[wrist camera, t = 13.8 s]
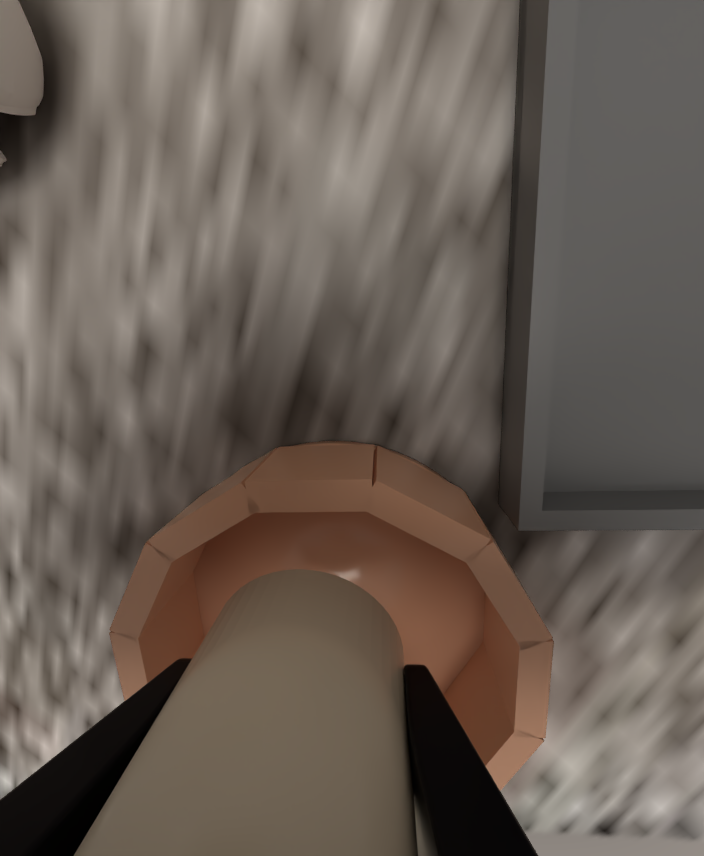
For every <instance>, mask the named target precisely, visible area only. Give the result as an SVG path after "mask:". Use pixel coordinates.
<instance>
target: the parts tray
mask: <svg viewBox="0 0 704 856" xmlns="http://www.w3.org/2000/svg"><path fill="white" fill-rule="evenodd" d="M498 504H499V505H500V507H501V508H502V509H503V511H504V512H505V513H506V515H507V516H508V517H509V519H510V520H511V521H512V523H513V524H514V525H515V527H516V528H517V530H518V531H564V530H704V0H520V21H519V44H518V66H517V89H516V112H515V135H514V158H513V180H512V203H511V226H510V249H509V271H508V294H507V317H506V340H505V363H504V385H503V408H502V431H501V454H500V476H499V499H498Z"/></svg>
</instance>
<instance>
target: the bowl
mask: <svg viewBox="0 0 704 856" xmlns="http://www.w3.org/2000/svg"><path fill="white" fill-rule="evenodd" d="M293 569H304V570H315V571H321V572H326V573H329V574H332V575H336V576H339V577H341V578H343V579H346V580H348V581H350V582H352V583H354V584H356V585H357V586H359V587H361V588H362V589H364V590H365V591H366V592H368V593H369V594H370V595H372V596H373V597H374V598H375V599H376V600H377V601H378V602H379V603H380V604H381V605H382V606H383V607H384V608H385V610H386V611H387V612H388V613H389V615H390V616H391V618H392V620H393V621H394V623H395V625H396V627H397V630H398V632H399V634H400V637H401V641H402V645H403V653H404V666H405V665H406V664H421V665H425V666H426V667H427V668H428V670H429V671H430V673H431V675H432V676H433V678H434V680H435V681H436V683H437V685H438V686H439V688H440V690H441V692H442V693H443V695H444V697H445V698H446V700H447V702H448V703H449V705H450V707H451V709H452V710H453V712H454V714H455V715H456V717H457V719H458V720H459V722H460V724H461V725H462V727H463V729H464V731H465V732H466V734H467V736H468V737H469V739H470V741H471V742H472V744H473V746H474V748H475V749H476V751H477V753H478V754H479V756H480V758H481V759H482V761H483V763H484V765H485V766H486V768H487V770H488V771H489V773H490V775H491V776H492V778H493V780H494V782H495V783H496V785H497V787H498V788H499V790H501V789H502V788H503V787H504V786H505V785H506V784H507V782H508V781H509V780H510V779H511V778H512V777H513V776H514V775H515V773H516V772H517V771H518V770H519V769H520V768H521V767H522V765H523V764H524V763H525V762H526V761H527V760H528V759H529V757H530V756H531V755H532V754H533V753H534V752H535V751H536V750H537V748H538V747H539V746H540V745H541V744H542V743H543V742H544V740H543V738H545V736H546V725H547V713H548V702H549V690H550V679H551V668H552V656H553V645H554V641H553V639H552V638H553V637H552V636H551V634H550V632H549V631H548V629H547V627H546V625H545V624H544V622H543V620H542V619H541V617H540V615H539V614H538V612H537V610H536V608H535V607H534V605H533V603H532V602H531V600H530V598H529V597H528V595H527V593H526V591H525V590H524V588H523V586H522V585H521V583H520V581H519V579H518V578H517V576H516V574H515V573H514V571H513V569H512V568H511V566H510V564H509V563H508V561H507V559H506V558H505V556H504V554H503V553H502V551H501V550H500V548H499V546H498V545H497V543H496V541H495V540H494V538H493V537H492V535H491V533H490V532H489V530H488V528H487V527H486V525H485V523H484V521H483V520H482V518H481V517H480V515H479V514H478V512H477V510H476V509H475V507H474V506H473V504H472V502H471V501H470V499H469V497H468V496H467V494H466V493H465V492H464V491H463V489H461V488H459V487H457V486H455V485H453V484H451V483H450V482H448V481H447V480H446V479H445V478H443V477H442V476H441V475H440V474H438V473H437V472H435V471H433V470H432V469H430V468H429V467H427V466H425V465H424V464H422V463H420V462H419V461H417V460H414V459H412V458H410V457H407V456H405V455H403V454H401V453H398V452H396V451H392V450H389V449H386V448H382V447H380V446H378V445H377V446H376V445H374V444H364V443H358V442H352V441H319V442H308V443H303V444H298V445H294V446H288V447H278V448H275V449H273V450H272V451H270V452H268V453H267V454H265V455H263V456H262V457H260V458H258V459H256V460H254V461H252V462H250V463H249V464H247V465H245V466H244V467H242V468H241V469H240V470H238V471H237V472H235V473H234V474H233V475H231V476H230V477H229V478H227V479H225V480H224V481H222V482H221V483H219V484H217V485H216V486H214V487H213V488H211V489H210V490H208V491H206V492H205V493H203V494H202V495H201V496H200V497H199V498H197V499H196V500H195V501H194V502H193V503H191V504H190V505H189V506H188V507H187V508H185V509H184V510H183V511H182V512H181V513H179V514H178V515H177V516H176V517H175V518H174V519H172V520H171V521H170V522H169V523H168V524H166V525H165V526H164V527H163V528H162V529H160V530H159V531H158V532H157V533H156V534H155V535H153V536H152V537H151V538H150V539H149V540H148V541H147V542H146V543H145V545H144V547H143V550H142V552H141V554H140V557H139V559H138V562H137V564H136V567H135V569H134V571H133V574H132V576H131V579H130V581H129V583H128V586H127V588H126V591H125V593H124V596H123V598H122V600H121V603H120V605H119V608H118V610H117V613H116V615H115V617H114V620H113V622H112V625H111V627H110V629H109V630H111V632H110V633H109V635H110V639H111V643H112V648H113V652H114V656H115V661H116V665H117V670H118V674H119V678H120V683H121V687H122V691H123V696H124V700H125V701H126V700H127V699H128V698H129V697H131V696H132V695H133V694H134V693H136V692H137V691H138V690H139V689H141V688H142V687H143V686H144V685H146V684H147V683H148V682H149V681H151V680H152V679H153V678H155V677H156V676H157V675H158V674H160V673H161V672H162V671H163V670H165V669H166V668H167V667H168V666H170V665H171V664H172V663H173V662H175V661H176V660H178V659H181V658H193V657H194V655H195V653H196V652H197V650H198V648H199V647H200V645H201V643H202V642H203V640H204V638H205V637H206V635H207V633H208V632H209V630H210V628H211V627H212V625H213V623H214V622H215V620H216V618H217V617H218V615H219V613H220V612H221V610H222V608H223V607H224V605H225V603H226V602H227V601H228V600H229V599H230V597H231V596H232V595H233V594H234V593H235V592H236V591H238V590H239V589H240V588H241V587H242V586H244V585H245V584H247V583H249V582H250V581H252V580H254V579H256V578H258V577H260V576H263V575H266V574H269V573H273V572H277V571H283V570H293Z"/></svg>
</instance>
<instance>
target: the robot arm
mask: <svg viewBox="0 0 704 856" xmlns="http://www.w3.org/2000/svg"><path fill="white" fill-rule="evenodd" d="M191 660H192V658H181V659H178V660H176V661H175V662H173V663H172V664H171V665H170V666H168V667H167V668H166V669H165V670H163V671H162V672H161V673H160V674H158V675H157V676H156V677H155V678H153V679H152V680H151V681H149V682H148V683H147V684H146V685H144V686H143V687H142V688H141V689H139V690H138V691H137V692H136V693H134V694H133V695H132V696H131V697H129V698H128V699H127V700H126V701H124V702H123V703H122V704H120V705H119V706H118V707H117V708H115V709H114V710H113V711H112V712H110V713H109V714H108V715H107V716H105V717H104V718H103V719H102V720H100V721H99V722H98V723H97V724H95V725H94V726H93V727H91V728H90V729H89V730H88V731H86V732H85V733H84V734H83V735H81V736H80V737H79V738H78V739H76V740H75V741H74V742H73V743H71V744H70V745H69V746H68V747H66V748H65V749H64V750H62V751H61V752H60V753H59V754H57V755H56V756H55V757H54V758H52V759H51V760H50V761H49V762H47V763H46V764H45V765H44V766H42V767H41V768H40V769H39V770H37V771H36V772H35V773H34V774H32V775H31V776H30V777H28V778H27V779H26V780H25V781H23V782H22V783H21V784H20V785H18V786H17V787H16V788H15V789H13V790H12V791H11V792H10V793H8V794H7V795H6V796H5V797H3V798H2V799H1V800H0V856H74V854H75V853H76V851H77V849H78V848H79V846H80V844H81V843H82V841H83V839H84V838H85V836H86V834H87V833H88V831H89V829H90V828H91V826H92V824H93V823H94V821H95V819H96V818H97V816H98V814H99V813H100V811H101V809H102V808H103V806H104V804H105V803H106V801H107V799H108V798H109V796H110V794H111V793H112V791H113V790H114V788H115V786H116V785H117V783H118V781H119V780H120V778H121V776H122V775H123V773H124V771H125V770H126V768H127V766H128V765H129V763H130V761H131V760H132V758H133V756H134V755H135V753H136V751H137V750H138V748H139V746H140V745H141V743H142V741H143V740H144V738H145V736H146V735H147V733H148V731H149V730H150V728H151V726H152V725H153V723H154V721H155V720H156V718H157V716H158V715H159V713H160V711H161V710H162V708H163V706H164V705H165V703H166V701H167V700H168V698H169V696H170V695H171V693H172V692H173V690H174V688H175V687H176V685H177V683H178V682H179V680H180V678H181V677H182V675H183V673H184V672H185V670H186V668H187V667H188V665H189V663H190V662H191ZM404 678H405V692H406V707H407V721H408V736H409V747H410V756H411V767H412V778H413V791H414V805H415V819H416V833H417V846H418V856H538V855H537V853H536V851H535V850H534V848H533V846H532V844H531V843H530V841H529V839H528V838H527V836H526V834H525V832H524V831H523V829H522V827H521V826H520V824H519V822H518V821H517V819H516V817H515V815H514V814H513V812H512V810H511V809H510V807H509V805H508V804H507V802H506V800H505V798H504V797H503V795H502V793H501V792H500V790H499V788H498V787H497V785H496V783H495V782H494V780H493V778H492V776H491V775H490V773H489V771H488V770H487V768H486V766H485V765H484V763H483V761H482V759H481V758H480V756H479V754H478V753H477V751H476V749H475V748H474V746H473V744H472V742H471V741H470V739H469V737H468V736H467V734H466V732H465V731H464V729H463V727H462V725H461V724H460V722H459V720H458V719H457V717H456V715H455V714H454V712H453V710H452V709H451V707H450V705H449V703H448V702H447V700H446V698H445V697H444V695H443V693H442V692H441V690H440V688H439V686H438V685H437V683H436V681H435V680H434V678H433V676H432V675H431V673H430V671H429V670H428V668H427V667H426V666H425V665H421V664H406V665H405V667H404Z"/></svg>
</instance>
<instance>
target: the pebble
mask: <svg viewBox="0 0 704 856" xmlns="http://www.w3.org/2000/svg"><path fill="white" fill-rule="evenodd" d="M404 667H405V666H404V653H403V645H402V641H401V637H400V634H399V632H398V630H397V627H396V625H395V623H394V621H393V620H392V618H391V616H390V615H389V613H388V612H387V611H386V610H385V608H384V607H383V606H382V605H381V604H380V603H379V602H378V601H377V600H376V599H375V598H374V597H373V596H372V595H370V594H369V593H368V592H366V591H365V590H364V589H362V588H361V587H359V586H357V585H356V584H354V583H352V582H350V581H348V580H346V579H343V578H341V577H339V576H336V575H332V574H329V573H326V572H321V571H315V570H304V569H293V570H283V571H277V572H273V573H269V574H266V575H263V576H260V577H258V578H256V579H254V580H252V581H250V582H249V583H247V584H245V585H244V586H242V587H241V588H240V589H239V590H238V591H236V592H235V593H234V594H233V595H232V596H231V597H230V599H229V600H228V601H227V602H226V603H225V605H224V607H223V608H222V610H221V612H220V613H219V615H218V617H217V618H216V620H215V622H214V623H213V625H212V627H211V628H210V630H209V632H208V633H207V635H206V637H205V638H204V640H203V642H202V643H201V645H200V647H199V648H198V650H197V652H196V653H195V655H194V657H193V658H192V660H191V662H190V663H189V665H188V667H187V668H186V670H185V672H184V673H183V675H182V677H181V678H180V680H179V682H178V683H177V685H176V687H175V688H174V690H173V692H172V693H171V695H170V696H169V698H168V700H167V701H166V703H165V705H164V706H163V708H162V710H161V711H160V713H159V715H158V716H157V718H156V720H155V721H154V723H153V725H152V726H151V728H150V730H149V731H148V733H147V735H146V736H145V738H144V740H143V741H142V743H141V745H140V746H139V748H138V750H137V751H136V753H135V755H134V756H133V758H132V760H131V761H130V763H129V765H128V766H127V768H126V770H125V771H124V773H123V775H122V776H121V778H120V780H119V781H118V783H117V785H116V786H115V788H114V790H113V791H112V793H111V794H110V796H109V798H108V799H107V801H106V803H105V804H104V806H103V808H102V809H101V811H100V813H99V814H98V816H97V818H96V819H95V821H94V823H93V824H92V826H91V828H90V829H89V831H88V833H87V834H86V836H85V838H84V839H83V841H82V843H81V844H80V846H79V848H78V849H77V851H76V853H75V854H74V856H418V846H417V833H416V819H415V805H414V791H413V778H412V767H411V756H410V747H409V736H408V721H407V707H406V692H405V678H404Z"/></svg>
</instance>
